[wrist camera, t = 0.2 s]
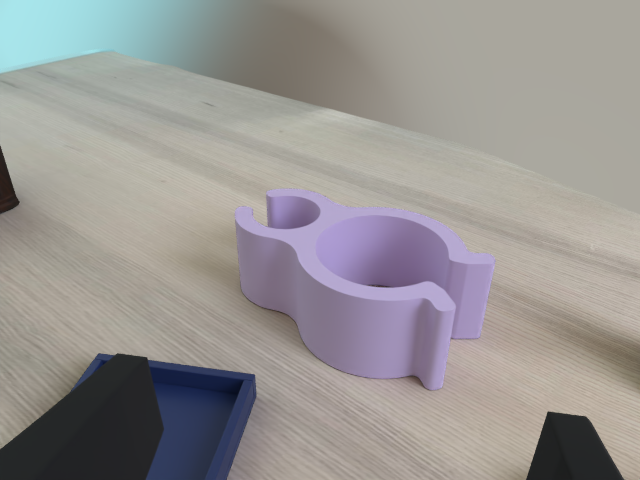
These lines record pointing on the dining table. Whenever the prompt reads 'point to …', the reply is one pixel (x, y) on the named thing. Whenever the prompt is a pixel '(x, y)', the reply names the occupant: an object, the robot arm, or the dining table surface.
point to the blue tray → (195, 418)
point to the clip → (364, 282)
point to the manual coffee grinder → (6, 187)
